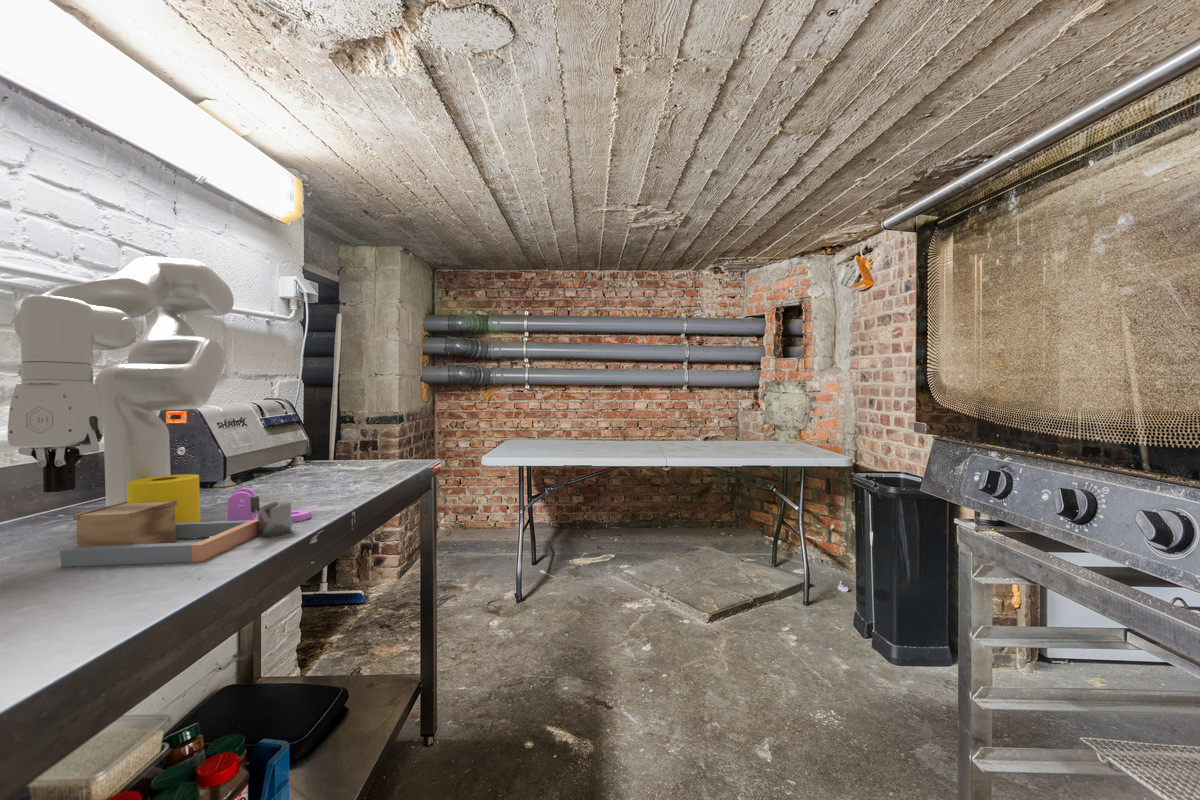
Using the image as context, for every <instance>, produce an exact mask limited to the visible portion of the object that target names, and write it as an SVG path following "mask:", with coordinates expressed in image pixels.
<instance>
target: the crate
mask: <svg viewBox="0 0 1200 800" xmlns="http://www.w3.org/2000/svg"><path fill="white" fill-rule="evenodd" d="M175 505H177V500H173V501H169V502H151V503H128V502H121V503H117V504H114V505H110V506H106V505H105V506H103V507H99V508H95V509H91V510H87V511H83V512H79V513H75V514H73V520H74V521H75V522H76V547H82V546H108V545H135V544H162V543H172V542H174V543H176V542H175V541H177V539H176V531H175Z"/></svg>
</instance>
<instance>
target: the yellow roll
mask: <svg viewBox="0 0 1200 800" xmlns="http://www.w3.org/2000/svg"><path fill="white" fill-rule="evenodd" d="M200 493H201V492H200V475H199V474H193V473H188V474H187V473H185V474H182V473H181V474H170V475H166V476H156V477H148V478H142V479H136V480H132V481H129V482H127V501H128V503H151V502H169V501H173V500H177V505H175V523H179V522H201V499H200V498H201V497H200V496H201V495H200Z"/></svg>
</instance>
